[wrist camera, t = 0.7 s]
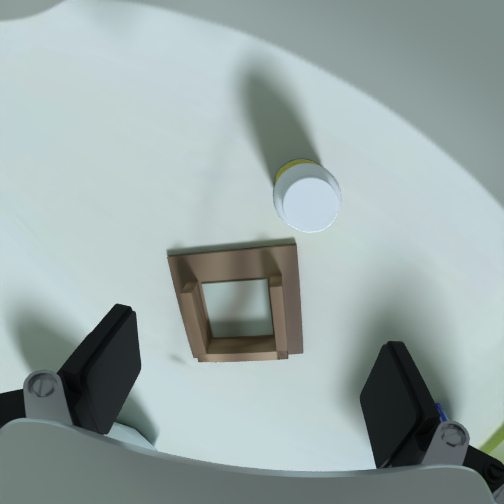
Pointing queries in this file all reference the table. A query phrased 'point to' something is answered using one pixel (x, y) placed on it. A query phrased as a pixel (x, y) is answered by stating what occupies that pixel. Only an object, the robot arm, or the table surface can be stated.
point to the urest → (240, 303)
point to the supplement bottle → (306, 195)
